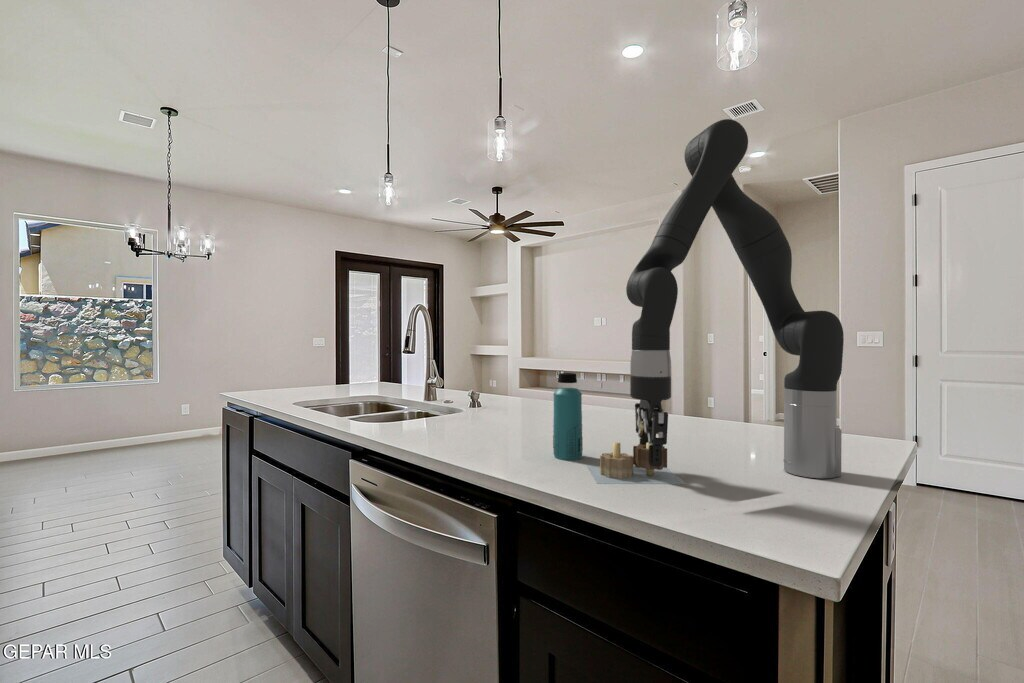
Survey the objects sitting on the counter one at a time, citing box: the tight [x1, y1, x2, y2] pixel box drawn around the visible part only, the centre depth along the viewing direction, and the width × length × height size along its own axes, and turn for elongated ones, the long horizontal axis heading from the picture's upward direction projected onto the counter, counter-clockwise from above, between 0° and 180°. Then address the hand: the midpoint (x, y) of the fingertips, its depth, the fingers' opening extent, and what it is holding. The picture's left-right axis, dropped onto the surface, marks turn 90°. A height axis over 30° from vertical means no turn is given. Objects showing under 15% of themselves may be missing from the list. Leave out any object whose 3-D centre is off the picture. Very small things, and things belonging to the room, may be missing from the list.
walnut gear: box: [632, 443, 668, 470], centre depth 93 cm, size 6×6×4 cm
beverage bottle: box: [552, 372, 584, 461], centre depth 107 cm, size 6×7×20 cm
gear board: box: [586, 441, 687, 485], centre depth 93 cm, size 16×12×8 cm
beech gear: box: [599, 451, 634, 479], centre depth 93 cm, size 6×6×4 cm
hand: (650, 461), depth 93 cm, fingers closed on walnut gear, 6 cm apart
